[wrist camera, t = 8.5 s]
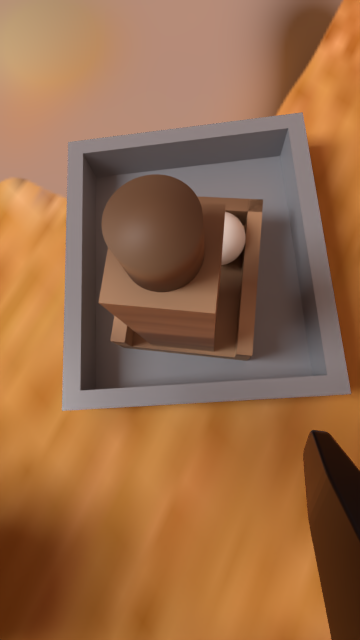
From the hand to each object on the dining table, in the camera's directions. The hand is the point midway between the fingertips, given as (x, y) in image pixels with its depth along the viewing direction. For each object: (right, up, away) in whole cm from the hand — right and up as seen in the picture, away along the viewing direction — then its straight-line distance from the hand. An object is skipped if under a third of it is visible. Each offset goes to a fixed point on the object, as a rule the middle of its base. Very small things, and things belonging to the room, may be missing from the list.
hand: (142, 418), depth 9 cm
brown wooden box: (+2, +5, +12) cm, 13 cm away
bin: (+2, +6, +13) cm, 14 cm away
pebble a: (+3, +7, +9) cm, 12 cm away
